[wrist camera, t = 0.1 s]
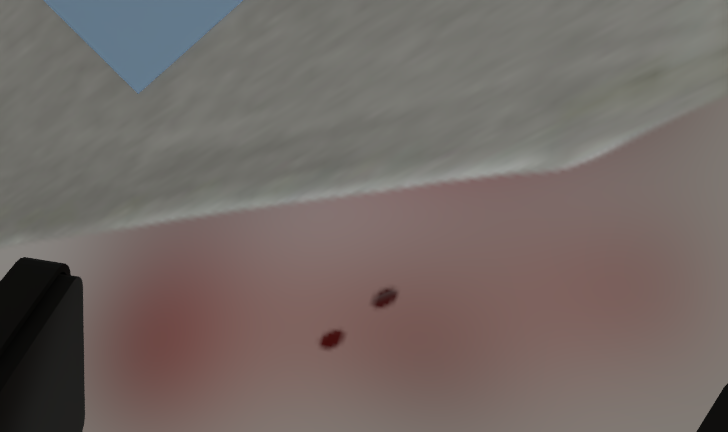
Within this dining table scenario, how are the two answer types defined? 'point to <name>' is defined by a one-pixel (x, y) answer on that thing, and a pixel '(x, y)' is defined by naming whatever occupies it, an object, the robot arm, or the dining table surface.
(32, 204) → the dining table surface
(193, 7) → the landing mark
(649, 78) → the dining table surface
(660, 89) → the dining table surface
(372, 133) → the dining table surface
